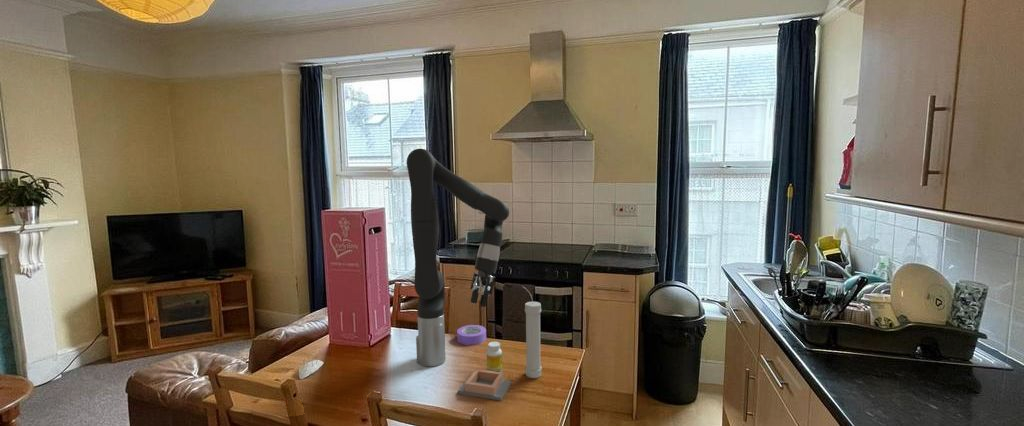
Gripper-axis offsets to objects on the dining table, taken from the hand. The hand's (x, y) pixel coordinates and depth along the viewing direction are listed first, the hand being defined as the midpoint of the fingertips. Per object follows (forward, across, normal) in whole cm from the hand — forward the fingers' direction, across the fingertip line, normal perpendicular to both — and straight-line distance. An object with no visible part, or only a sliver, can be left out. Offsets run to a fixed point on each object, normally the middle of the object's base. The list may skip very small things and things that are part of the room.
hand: (477, 304), depth 140 cm
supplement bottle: (+21, +2, +10) cm, 23 cm away
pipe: (+19, +10, +20) cm, 29 cm away
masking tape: (+16, -27, +12) cm, 33 cm away
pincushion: (+34, -27, -44) cm, 62 cm away
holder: (+24, +11, +4) cm, 27 cm away
